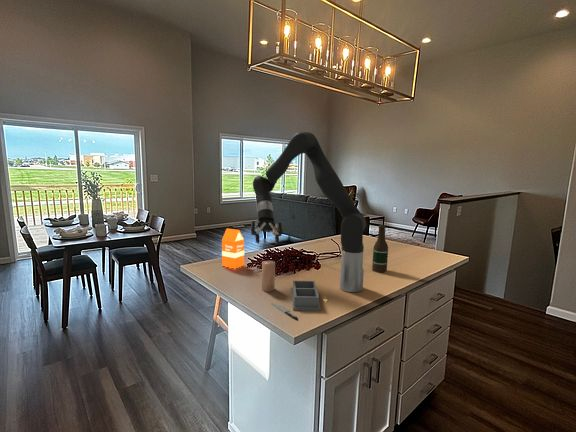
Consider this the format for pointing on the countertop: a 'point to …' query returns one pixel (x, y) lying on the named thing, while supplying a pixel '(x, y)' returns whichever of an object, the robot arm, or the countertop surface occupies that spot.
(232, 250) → the orange juice
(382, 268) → the beer bottle
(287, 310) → the chef's knife
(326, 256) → the countertop surface
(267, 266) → the tan cylinder
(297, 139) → the robot arm
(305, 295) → the box
